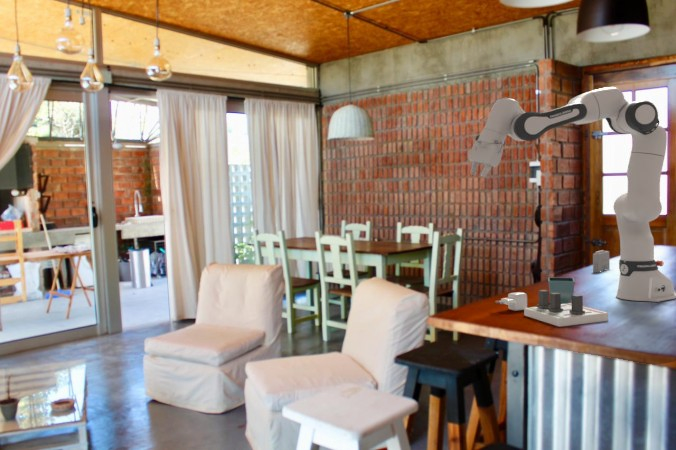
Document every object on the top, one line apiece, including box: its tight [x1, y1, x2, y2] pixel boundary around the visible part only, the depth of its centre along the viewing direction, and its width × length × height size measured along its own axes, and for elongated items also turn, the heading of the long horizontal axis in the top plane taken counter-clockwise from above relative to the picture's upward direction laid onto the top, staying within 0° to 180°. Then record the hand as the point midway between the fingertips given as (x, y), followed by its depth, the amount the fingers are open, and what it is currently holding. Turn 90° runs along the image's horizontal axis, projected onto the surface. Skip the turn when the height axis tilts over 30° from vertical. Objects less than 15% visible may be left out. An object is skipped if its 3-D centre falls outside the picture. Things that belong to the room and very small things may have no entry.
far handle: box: [536, 289, 550, 309], centre depth 194 cm, size 3×3×6 cm
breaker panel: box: [523, 302, 609, 327], centre depth 189 cm, size 18×18×3 cm
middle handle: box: [548, 292, 563, 312], centre depth 188 cm, size 3×3×6 cm
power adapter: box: [495, 291, 528, 311], centre depth 204 cm, size 11×5×6 cm, turn 111°
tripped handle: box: [570, 294, 585, 315], centre depth 183 cm, size 3×3×6 cm
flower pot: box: [547, 276, 576, 304], centre depth 212 cm, size 9×9×9 cm
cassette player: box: [592, 249, 611, 273], centre depth 288 cm, size 16×3×10 cm, turn 138°
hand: (477, 175), depth 217 cm, fingers open, 8 cm apart
